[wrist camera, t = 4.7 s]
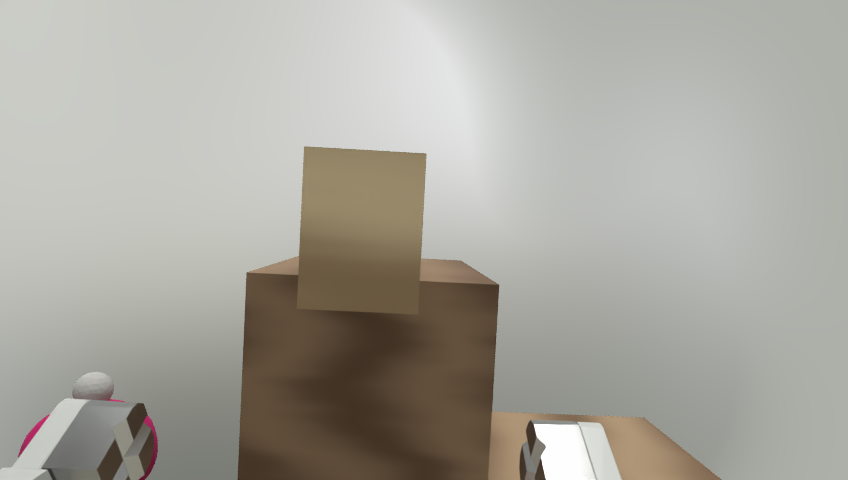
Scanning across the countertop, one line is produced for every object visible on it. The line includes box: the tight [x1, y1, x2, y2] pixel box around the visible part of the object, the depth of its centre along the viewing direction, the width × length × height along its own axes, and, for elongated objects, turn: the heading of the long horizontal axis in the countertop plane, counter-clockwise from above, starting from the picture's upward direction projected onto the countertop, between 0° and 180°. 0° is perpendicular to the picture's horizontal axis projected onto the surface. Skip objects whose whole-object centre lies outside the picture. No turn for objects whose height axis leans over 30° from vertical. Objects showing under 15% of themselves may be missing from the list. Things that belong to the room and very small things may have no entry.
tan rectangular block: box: [297, 147, 426, 314], centre depth 22 cm, size 18×3×4 cm, turn 2°
